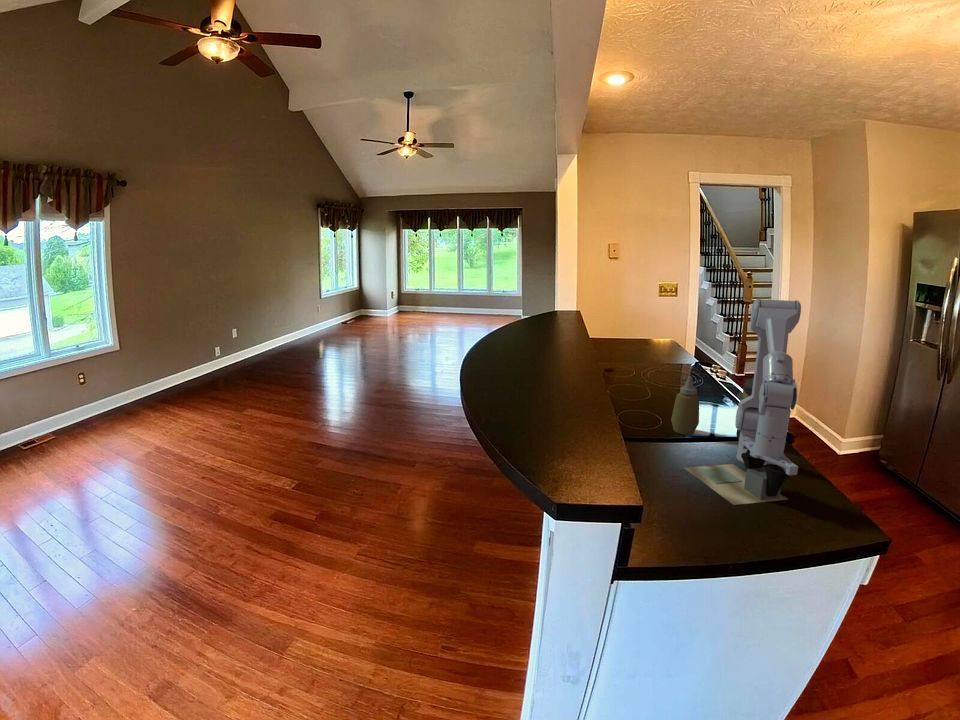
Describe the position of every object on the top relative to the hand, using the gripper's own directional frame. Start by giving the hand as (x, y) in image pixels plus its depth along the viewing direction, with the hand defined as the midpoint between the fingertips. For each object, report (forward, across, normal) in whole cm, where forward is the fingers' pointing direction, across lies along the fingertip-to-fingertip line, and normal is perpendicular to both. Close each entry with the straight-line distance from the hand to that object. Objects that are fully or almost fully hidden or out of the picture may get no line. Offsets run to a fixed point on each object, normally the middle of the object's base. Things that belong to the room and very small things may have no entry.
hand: (761, 489), depth 108 cm
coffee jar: (+3, -30, +23) cm, 38 cm away
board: (+2, -6, -3) cm, 7 cm away
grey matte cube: (+1, 0, 0) cm, 1 cm away
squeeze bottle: (+3, -40, +7) cm, 41 cm away
